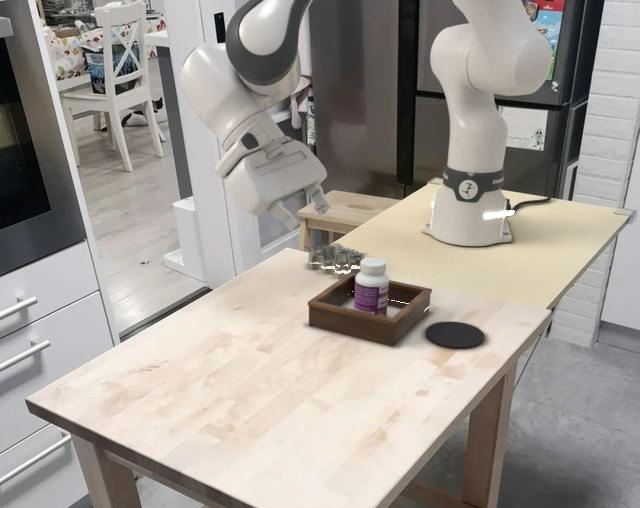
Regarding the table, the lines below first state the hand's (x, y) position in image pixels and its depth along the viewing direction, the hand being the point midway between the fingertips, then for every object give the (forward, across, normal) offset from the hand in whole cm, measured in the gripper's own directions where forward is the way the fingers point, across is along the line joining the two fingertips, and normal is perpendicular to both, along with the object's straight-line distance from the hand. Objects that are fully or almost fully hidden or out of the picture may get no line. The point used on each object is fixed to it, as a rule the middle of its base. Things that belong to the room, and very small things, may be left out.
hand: (311, 219), depth 112 cm
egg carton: (+7, -17, -13) cm, 23 cm away
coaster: (+28, -1, +8) cm, 29 cm away
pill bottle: (+18, 0, -3) cm, 18 cm away
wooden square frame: (+18, 0, -2) cm, 18 cm away
